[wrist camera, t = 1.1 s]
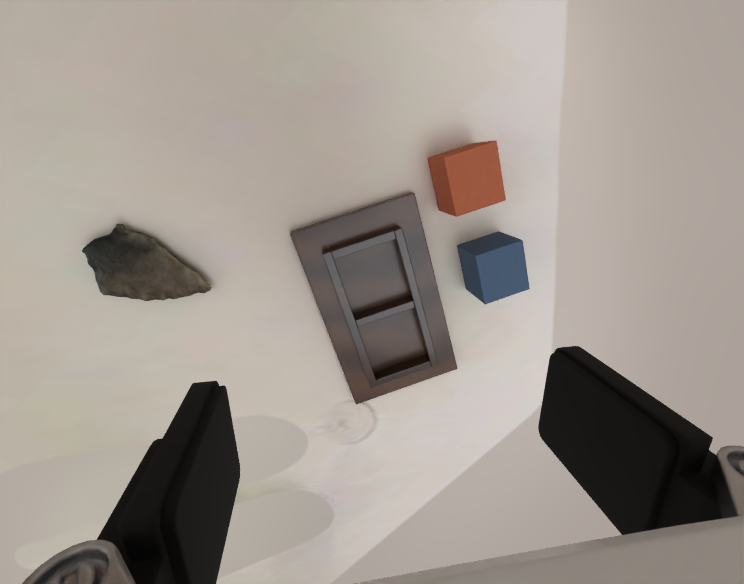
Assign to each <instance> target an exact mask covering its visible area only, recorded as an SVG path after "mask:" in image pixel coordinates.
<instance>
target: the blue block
mask: <svg viewBox="0 0 744 584" xmlns="http://www.w3.org/2000/svg"><path fill="white" fill-rule="evenodd" d="M457 247H458V252H459V257H460V261H461V266H462V271H463V275H464V280H465V285H466V289H467V290H468V291H469V292H471V293H472V294H473V295H474V296H476V297H477V298H478V299H479V300H480V301H482V302H483V303H484V304H487V303H490V302H493V301H496V300H499V299H502V298H505V297H507V296H510V295H513V294H516V293H519V292H522V291H525V290H528V289H529V282H528V275H527V268H526V261H525V254H524V247H523V241H522V240H520V239H518V238H515V237H512V236H510V235H507V234H504V233H501V232H496V233H493V234H490V235H487V236H484V237H481V238H478V239H475V240H472V241H469V242H466V243H463V244H460V245H458V246H457Z"/></svg>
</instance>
